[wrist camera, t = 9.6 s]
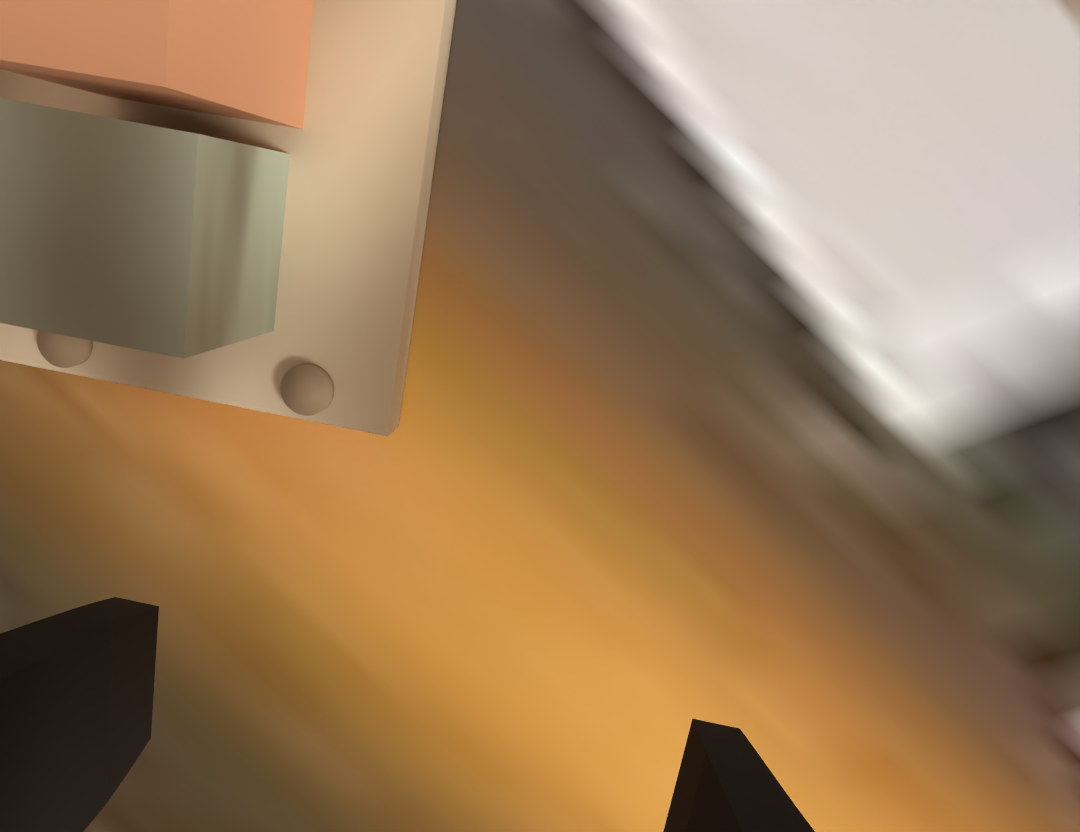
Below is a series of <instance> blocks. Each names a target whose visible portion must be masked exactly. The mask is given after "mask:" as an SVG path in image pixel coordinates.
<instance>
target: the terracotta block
mask: <svg viewBox="0 0 1080 832" xmlns="http://www.w3.org/2000/svg"><path fill="white" fill-rule="evenodd" d="M313 3H314V0H0V69H1V70H5V71H9V72H13V73H17V74H21V75H25V76H29V77H33V78H36V79H40V80H44V81H48V82H52V83H56V84H60V85H64V86H68V87H72V88H76V89H80V90H84V91H88V92H92V93H96V94H99V95H103V96H107V97H111V98H117V99H123V100H129V101H135V102H141V103H147V104H153V105H159V106H165V107H171V108H177V109H183V110H189V111H195V112H202V113H208V114H214V115H220V116H226V117H232V118H238V119H244V120H250V121H256V122H262V123H268V124H274V125H280V126H286V127H292V128H298V129H303V122H304V110H305V99H306V87H307V75H308V63H309V51H310V39H311V27H312V15H313Z"/></svg>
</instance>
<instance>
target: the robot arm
mask: <svg viewBox="0 0 1080 832" xmlns="http://www.w3.org/2000/svg"><path fill="white" fill-rule="evenodd" d="M158 610H159V606H154V605H150V604H145V603H140V602H135V601H131V600H126V599H121V598H116V597H115V598H110V599H106V600H102V601H98V602H95V603H91V604H88V605H85V606H82V607H78V608H75V609H72V610H69V611H66V612H63V613H60V614H57V615H54V616H51V617H48V618H45V619H42V620H39V621H36V622H33V623H30V624H28V625H25V626H22V627H19V628H16V629H13V630H10V631H7V632H4V633H1V634H0V832H83V831H84V830H85V829H86V827H87V826H88V825H89V824H90V823H91V822H92V820H93V819H94V818H95V817H96V816H97V815H98V813H99V812H100V811H101V810H102V809H103V807H104V806H105V805H106V803H107V802H108V800H109V799H110V798H111V796H112V795H113V793H114V792H115V790H116V789H117V788H118V786H119V785H120V783H121V782H122V780H123V779H124V778H125V776H126V775H127V773H128V772H129V770H130V769H131V767H132V766H133V764H134V763H135V761H136V760H137V758H138V756H139V755H140V753H141V752H142V750H143V749H144V747H145V746H146V744H147V743H148V741H149V740H150V738H151V724H152V708H153V692H154V675H155V659H156V643H157V626H158ZM664 832H815V831H814V830H813V829H812V827H811V826H810V825H809V823H808V822H807V821H806V819H805V818H804V817H803V815H802V814H801V813H800V811H799V810H798V809H797V807H796V806H795V805H794V803H793V802H792V800H791V799H790V798H789V796H788V795H787V794H786V792H785V791H784V789H783V788H782V787H781V785H780V784H779V782H778V781H777V780H776V778H775V777H774V776H773V774H772V773H771V771H770V770H769V768H768V767H767V766H766V764H765V763H764V761H763V760H762V759H761V757H760V756H759V754H758V753H757V752H756V750H755V749H754V747H753V746H752V745H751V743H750V742H749V741H748V739H747V738H746V736H745V735H744V734H743V732H742V731H741V730H740V729H739V728H734V727H729V726H724V725H720V724H715V723H710V722H705V721H701V720H696V719H692V723H691V727H690V731H689V735H688V739H687V743H686V747H685V751H684V754H683V758H682V762H681V766H680V770H679V774H678V778H677V782H676V786H675V789H674V793H673V797H672V801H671V805H670V809H669V813H668V817H667V820H666V824H665V828H664Z"/></svg>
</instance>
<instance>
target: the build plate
mask: <svg viewBox="0 0 1080 832" xmlns="http://www.w3.org/2000/svg"><path fill="white" fill-rule="evenodd" d="M455 8H456V0H314V3H313V15H312V27H311V39H310V51H309V63H308V75H307V87H306V99H305V110H304V122H303V129H298V128H292V127H286V126H280V125H274V124H268V123H262V122H256V121H250V120H244V119H238V118H232V117H226V116H220V115H214V114H208V113H202V112H195V111H189V110H183V109H177V108H171V107H165V106H159V105H153V104H147V103H141V102H135V101H129V100H123V99H117V98H111V97H107V96H103V95H99V94H96V93H92V92H88V91H84V90H80V89H76V88H72V87H68V86H64V85H60V84H56V83H52V82H48V81H44V80H40V79H36V78H33V77H29V76H25V75H21V74H17V73H13V72H9V71H5V70H1V69H0V360H3V361H9V362H14V363H19V364H24V365H29V366H34V367H39V368H44V369H49V370H54V371H59V372H64V373H69V374H74V375H79V376H85V377H90V378H95V379H100V380H105V381H110V382H115V383H120V384H125V385H130V386H135V387H140V388H145V389H150V390H156V391H161V392H166V393H171V394H176V395H181V396H186V397H191V398H196V399H201V400H206V401H211V402H216V403H221V404H226V405H232V406H237V407H242V408H247V409H252V410H257V411H262V412H267V413H272V414H277V415H282V416H287V417H292V418H297V419H303V420H308V421H313V422H318V423H323V424H328V425H333V426H338V427H343V428H348V429H353V430H358V431H363V432H368V433H373V434H379V435H384V436H388V435H389V434H390V433H392V432H393V431H394V430H395V429H396V428H397V427H398V426H399V419H400V412H401V404H402V397H403V390H404V382H405V375H406V368H407V360H408V353H409V346H410V338H411V331H412V324H413V316H414V309H415V302H416V294H417V287H418V280H419V272H420V265H421V258H422V250H423V243H424V236H425V228H426V221H427V213H428V206H429V199H430V191H431V184H432V177H433V169H434V162H435V155H436V147H437V140H438V133H439V125H440V118H441V111H442V103H443V96H444V89H445V81H446V74H447V67H448V59H449V52H450V45H451V37H452V30H453V23H454V15H455Z"/></svg>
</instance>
